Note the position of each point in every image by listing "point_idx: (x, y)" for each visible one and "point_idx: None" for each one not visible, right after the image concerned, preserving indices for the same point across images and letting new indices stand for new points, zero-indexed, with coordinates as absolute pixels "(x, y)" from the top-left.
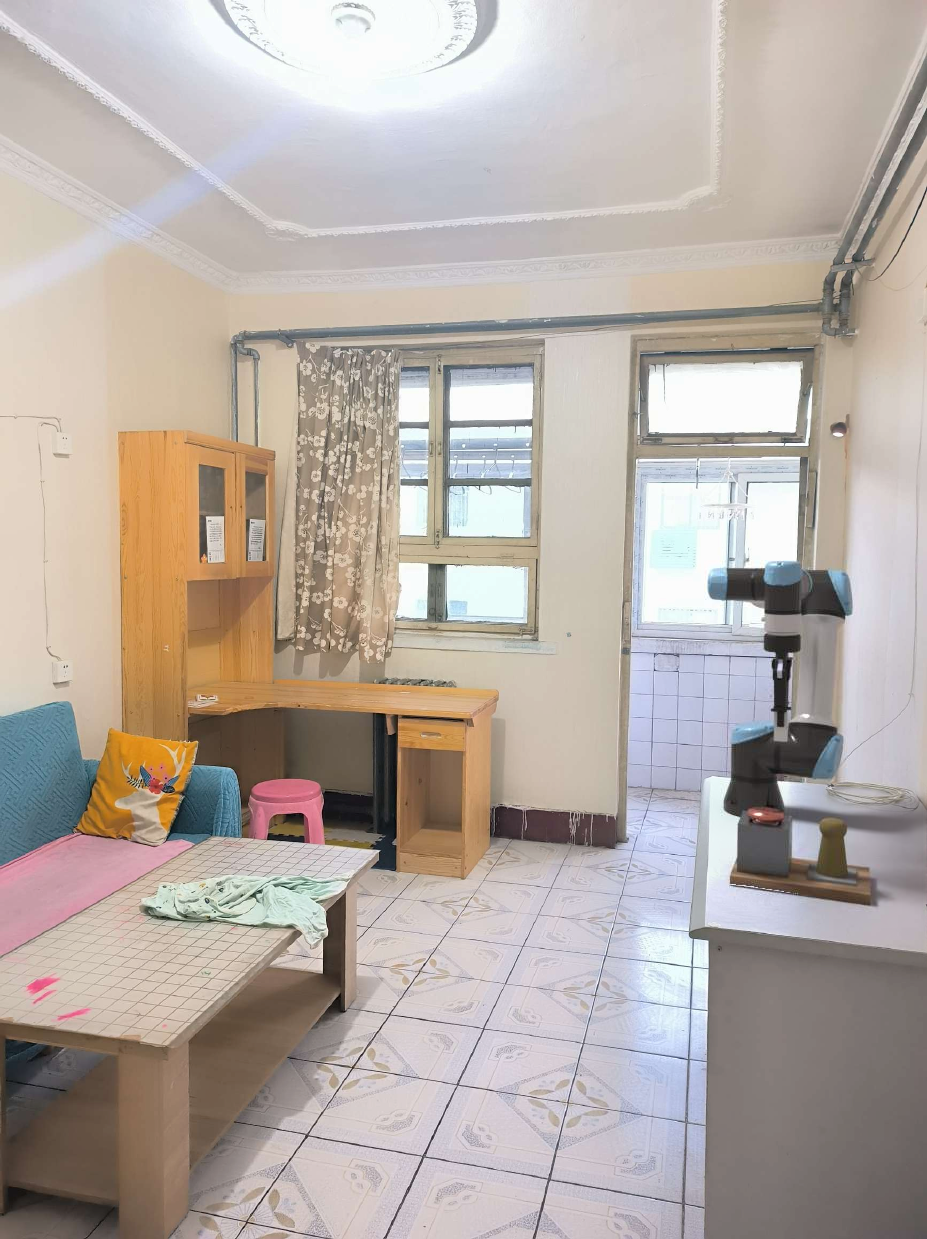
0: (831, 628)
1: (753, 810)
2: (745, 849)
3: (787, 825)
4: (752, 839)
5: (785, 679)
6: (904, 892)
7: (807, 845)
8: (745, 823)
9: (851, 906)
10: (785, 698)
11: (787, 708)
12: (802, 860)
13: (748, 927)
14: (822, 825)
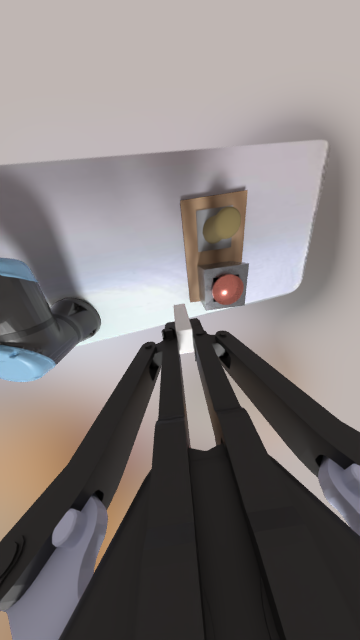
0: None
1: (227, 300)
2: None
3: (236, 267)
4: None
5: (344, 424)
6: (204, 163)
7: (132, 265)
8: (241, 300)
9: (249, 208)
10: (253, 352)
11: (176, 335)
12: (189, 259)
13: (298, 268)
14: (235, 233)
